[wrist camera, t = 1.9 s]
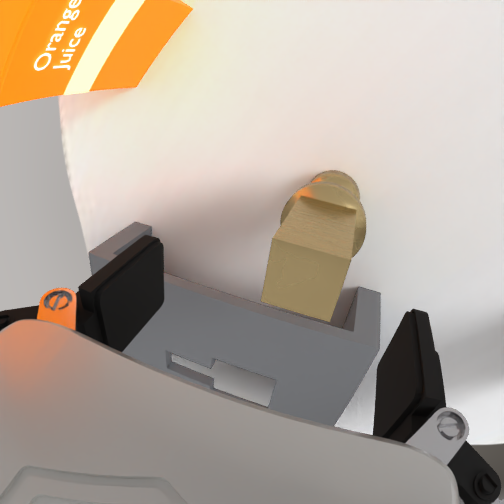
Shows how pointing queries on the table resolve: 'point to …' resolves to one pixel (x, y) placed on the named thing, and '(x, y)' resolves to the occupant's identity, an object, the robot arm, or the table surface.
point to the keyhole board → (255, 340)
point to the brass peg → (315, 246)
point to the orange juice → (80, 44)
